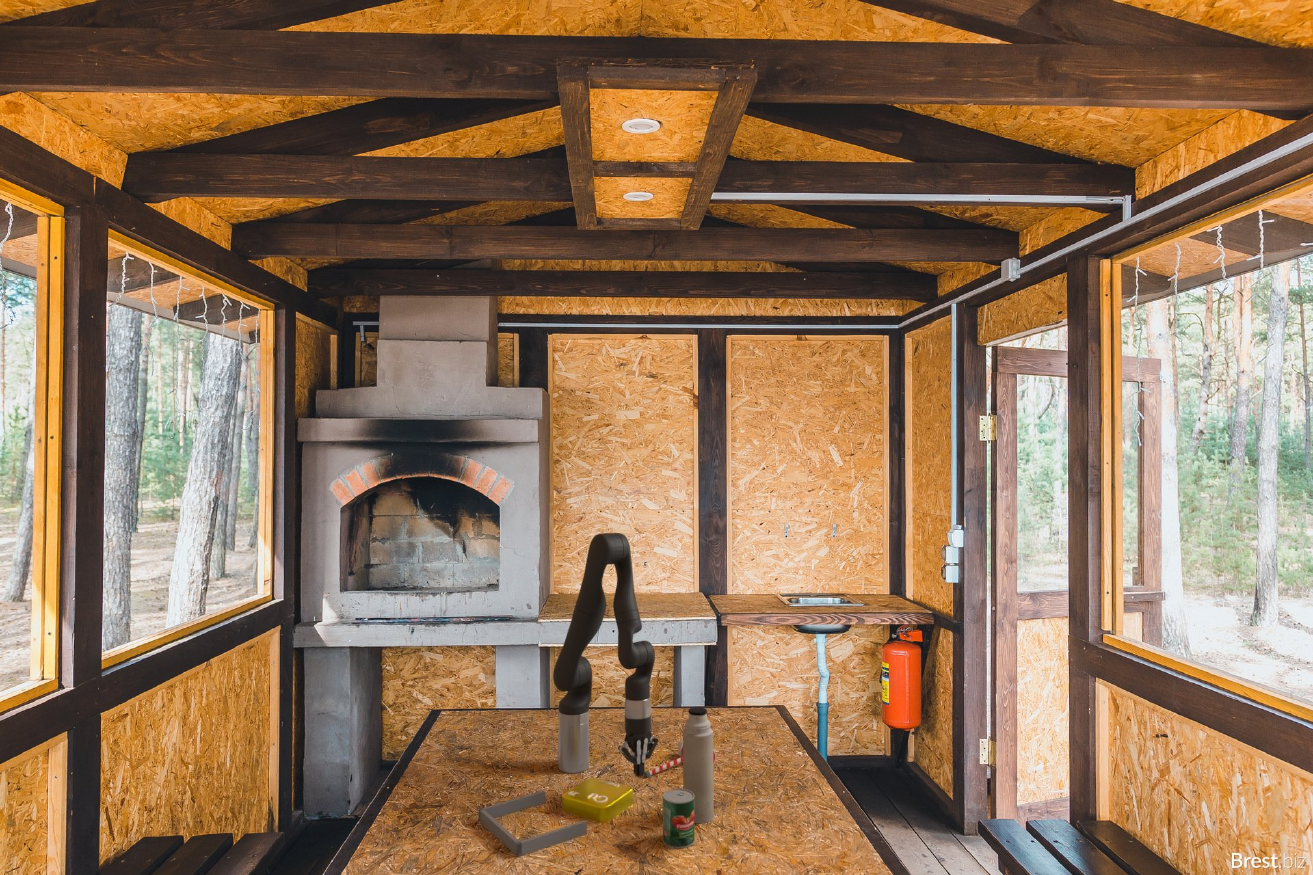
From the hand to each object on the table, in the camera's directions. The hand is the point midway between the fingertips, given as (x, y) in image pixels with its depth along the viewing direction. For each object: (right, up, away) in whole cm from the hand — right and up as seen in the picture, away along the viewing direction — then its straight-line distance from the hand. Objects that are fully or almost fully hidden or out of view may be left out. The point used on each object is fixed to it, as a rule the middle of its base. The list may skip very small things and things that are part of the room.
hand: (639, 775), depth 216 cm
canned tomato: (+10, -4, -27) cm, 29 cm away
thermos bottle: (+16, -5, -14) cm, 22 cm away
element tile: (-11, -5, -8) cm, 14 cm away
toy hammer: (+13, -6, +19) cm, 24 cm away
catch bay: (-27, -5, -19) cm, 34 cm away
